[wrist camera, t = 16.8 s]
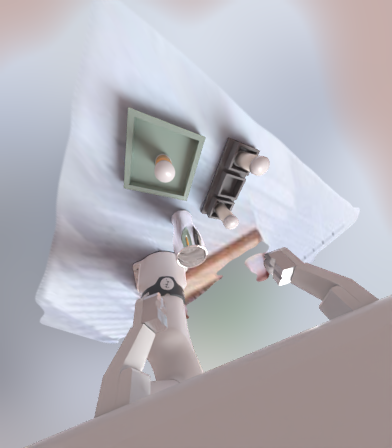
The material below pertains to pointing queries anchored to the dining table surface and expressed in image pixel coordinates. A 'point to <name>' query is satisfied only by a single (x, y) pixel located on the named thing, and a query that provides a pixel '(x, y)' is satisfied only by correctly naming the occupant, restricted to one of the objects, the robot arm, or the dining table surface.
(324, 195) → the dining table surface
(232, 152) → the fuse block
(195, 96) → the dining table surface
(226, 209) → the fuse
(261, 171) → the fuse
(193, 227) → the beer glass
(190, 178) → the parts tray
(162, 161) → the cylinder
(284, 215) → the dining table surface
